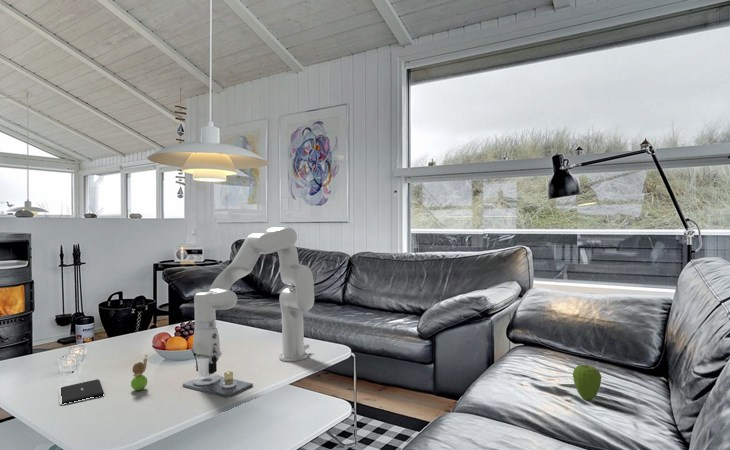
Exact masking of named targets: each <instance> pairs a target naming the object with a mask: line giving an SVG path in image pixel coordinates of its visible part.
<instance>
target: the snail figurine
mask: <svg viewBox="0 0 730 450" xmlns="http://www.w3.org/2000/svg"><path fill="white" fill-rule="evenodd" d="M147 363H148V355H147V354H145V355H144V358H143V362H142V361H137V362H135V363H134V365H133V366H132V373H133V375H132V376H133V378H132V379H131V382H130V387H131V389H133V390H134V391H142V390H143V389H146V387H147V385H148V379H147V377H146V375H143V374H144V373H145V372H146V369H147Z"/></svg>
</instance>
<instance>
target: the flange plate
mask: <svg viewBox="0 0 730 450" xmlns="http://www.w3.org/2000/svg"><path fill="white" fill-rule="evenodd" d="M223 373H224V376H220V375H219V374H217V373H214V374H213V375H210V376H206V377H201V376H199V375H197V376H195V377H193V378H192V379H191V380H187V381H186V382H184V383H182V387H184V388H188V389H191V390H195V391H199V392H203V393H208V394H212V395H216V396H220V397H224V398H228V399H229V398H231V397H232V396H235V395H238V394H239V393H241V392H243V391H246V390H248V389H249V388H252V387H253V386H254V383H251V382H247V381H243V380H238V379H234V371H225V372H223Z"/></svg>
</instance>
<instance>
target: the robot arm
mask: <svg viewBox="0 0 730 450" xmlns="http://www.w3.org/2000/svg"><path fill="white" fill-rule="evenodd" d="M297 240H298V234H297V232H296V230H295V229H293V228H292V227H289V226H288V227H287V226H285V227H284V226H283V227H280V226H279V227H278V226H275V227H274V226H273V227H269V228H267V229H266V230H265V232H261V233H251V234H249V235H248V236H247V237H246V238H245V240H244V241H243V243H242V244H241V247H240V248H239V250H238V252H236V254H235V256H234V258H233V259H232V261H231V262H230V264H229V265H227V266H226V267H225V268H224V269H223V270H222V271H221V272H220V273H219V274H218V275H217V277H215V279H214V280H213V282H212V284H211V285H210V287H209V289H208V291H200V292H196V293H195V295H194V296H193V302H194V306H193V307H194V331H193V338H192V342H193V343H192V347H191V348H190V351H191V352H192V355H193V357H194V361H195V364H196V365H195V368H196V369H195V371H196V372H198V365H197V356H199V355H205V356H208V358H209V361H210V363H209V374H212V373H214V374H216V373H217V370H218V369H217V363H218V360H219V359H220V357H221V356H222V351H221V345H220V336H219V335H220V334H219V330H218V328H217V321H216V319H217V317H216V316H217V315H216V310H217V311H218V310H230V309H232V308H234V307H235V306H236V304H237V302H238V296H237V294H236V293H235V291H232V290H230V288H231V286H232V285H233V284H234V283H235V282H237V281H238V280H239V279H242V278H244V277H246V276H247V275H250V274H251V272H252V271H253V268H254V267H255V265H256V263H257V262H258V259H259V258H260V256H261V255H268V254H273V253H276V252H277V253H276V254H277V255H278V259H279V260H278V261H279V274H280V280H281V282H282V283H283V284H285V285H288V286H289V287H286V288H284V289H283V290H282V291H281V292H280V293H279V300H278V301H279V306H280V310H281V331H282V332H281V334H282V335H281V337H282V339H281V340H282V343H281V344H282V353H281V354H279V356H278V358H279V360H280V361H282V362H300V361H303V360H305V359H307V358H308V353H307V352H306V350H308V349H310V347H311V346H310V344H308V343H307V344H304V343H305V342H304V341H305V340H304V337H305V336H304V334H305V333H304V315H303V312H306V311H307V312H308V311H310V310H311V309H312V308H313V306H314V304H315V286H314V276H313V272H312V269H310V267H309V266H308V265H305V264H300V261H299V253H298V250H297V247H296V245H295V244H296V242H297ZM290 286H292V287H290ZM212 356H214V358H213V359H212Z"/></svg>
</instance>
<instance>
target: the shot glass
mask: <svg viewBox="0 0 730 450" xmlns="http://www.w3.org/2000/svg"><path fill="white" fill-rule="evenodd" d="M213 358H214V356H212V359H213ZM209 363H210V361H209V358H208V356H205V355H199V356H197V365H198V371H197V372H198V373H197V374H198V376H201V377H206V376H210V375H213V374H215V373H212V374H209Z"/></svg>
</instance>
